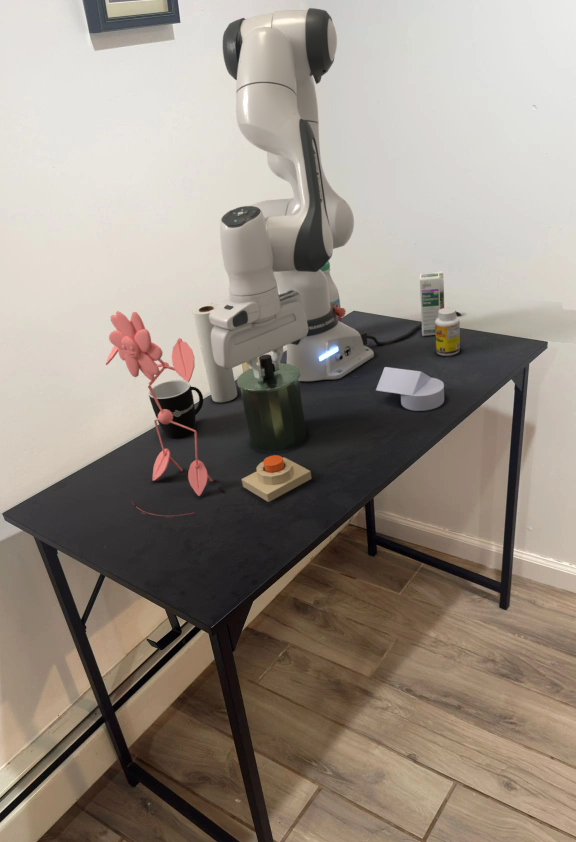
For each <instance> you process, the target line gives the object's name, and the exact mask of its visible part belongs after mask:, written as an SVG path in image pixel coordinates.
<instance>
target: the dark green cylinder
mask: <svg viewBox="0 0 576 842" xmlns="http://www.w3.org/2000/svg"><path fill="white" fill-rule="evenodd" d="M239 389H240V393H241V398H242V404H243V410H244V414H245V419H246V424H247V430H248V435H249V441H250V443H251V445H252V447H254V448H255V449H257V450H260V451H266V452H278V451H279V452H280V451H284V450H288V449H290V448H293V447H296V446H297V445H299V444H300V443H302V442H304V439H305V438H306V437H307V427H306V420H305V413H304V407H303V399H302V392H301V385H300V381H299V379H298V380H297V381H296V382H295V383H293V384H292V385H290V386H288V387H285V388H282V389H279V390H275V391H270V392H248V391H245V390H242V389H241V388H239Z"/></svg>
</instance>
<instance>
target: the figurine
mask: <svg viewBox="0 0 576 842" xmlns="http://www.w3.org/2000/svg"><path fill="white" fill-rule="evenodd" d="M130 315H131V316H130V320H129V318H128V317H127V315H125V314H124V313H122V312H121V311H120V310H116V312H115V314H112V315H111V316H110V322H111V323H112V325H113V327H114V328H115V329H116V330H112V331H111V332H110V333H109V335H108V340H109V342H110V343H111V344H112V345H113V347H112V349H111V351H110V353H109V355H108V357H107V359H106V362H105V365H106V366H108V365H109V363H111V362H112V361H113V359H114V358H115V357H116V355H117V354H118V356H119V358H120V359H121V360H122V361H123V362H125V364H126V368H127V370H128V372H129V373H130V375H131V376H132V377H134V378H137V377H139V375H140V372H141V373H142V374H143V375H144V376H145V377H146V378H147V379H148V380H150V381H149V382H148V386H147V389H148V390H149V391H150V392H151V394H152V396H153V398H154V399H155V401H156V403H157V405H158V407H159V409H160V412H159V414H158V419H157V418H155V419H154V421H153V422H154V425H155V429H156V433H157V436H158V439H159V443H160V446H161V451H160V452H159V454H158V455H157V457H156V459H155V460H154V461H155V462H154V464H153V469H152V482H156V481H157V480H159V479H160V478H161V477H163V475H164V473H165V472H166V471H167V470H168V469H167V468H168V466H169V464H170V462H171V463H172V464H173V465H174V466H175V467H176V468H177V470H178V471H180V472H183V470H184V469H183V468H182V467H181V466H180V465H179V464H178V463H177V462H176V460H174V458H173V457H171V450H170V449H169V448H165V447H164V444H163V440H162V437H161V433H160V429H159V426H158V420H159V421H160V422H161V423H162V424H169V423H173V424H175V425H178V426H181V427H183V428H186V429H188V430H191V431H193V432H194V450H195V451H194V452H195V453H194V454H195V460H194V461H192V462H190V465H189V469H188V474H187V480H188V482H189V485H190V488H191V489H193V492H194V493H195V494H196V495H197V496H198V497H200V496H201V495H202V493H203V492H204V491H205V488H206V487H207V484H208V481H209V482H211V483H212V482H214V480H213V478H212V477H211V476H210V475H209V474H208V470H207V467H206V465H205V464H204V461H201V460H200V459H199V458H198V455H199V454H198V432H197V430H196V429H195V428H194V429H191V428H189V427H186V426H183V425H181V424H178V423H176V422H173V421H172V420H173V414H172V413H171V411H169V410H167V409H164V410H162V408H161V406H160V404H159V402H158V400H157V398H156V396H155V394H154V392H153V389H152V388H153V387H152V385H153V384H154V383H155V382H156V380H157V379H158V378H159V377H160V376H161V374H162V373H163V372H164V371H165V370H166V369H168V370H171V371H175V372H176V374H177V375H178V376H179V377H181V378H182V380H183V381H187V382H188V383H190V381H191V379H192V376H193V373H194V370H195V366H196V365H195V364H196V363H195V354H194V351H193V349H192V348H191V347H190V345H189V344H188V343H187V342H186V341H183V339H182V338H181V337H179V338H177V340H176V343H175V344H174V346H172V352H171V362H172V363H171V364H172V366H171V365H170V364H169V363H168V362H167V361H166V362H165V361H164V360H163V359H162V356H163V353H164V351H163V350H162V348H161V347H160V346H159V345H158V344H156V343H154V342H153V341H152V337H151V334H150V331H149V330H148V329H147V328H146V327H145V323H144V321H143V320H142V317H141V316H140V314H138V312H136V311H133V312H131V314H130ZM157 361H158V362H159V363H156V362H157ZM160 368H161V369H160ZM131 503H132V504H134V502H133V501H131ZM137 509H138V510H140V511H141V512H142V514H144V515H145V514H149V515H152V516H159V517H164V519H166V518H167V519H169V518H170V517H178V516H181V514H175V515H172V514H171V515H167V516H166V515H163V514H156V513H150V512H147V511H144V510H142V509H140V508H139V507H137ZM195 513H196V512H194V511H193V512H190V513H184V514H182V516H188V515H192V514H195Z"/></svg>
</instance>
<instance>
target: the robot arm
mask: <svg viewBox="0 0 576 842" xmlns="http://www.w3.org/2000/svg"><path fill="white" fill-rule="evenodd" d="M337 46H338V35H337V29H336V27H335V25H334V22H333V18H332V15H330V13H328V11H327V10H324V9H321V8H315V7H314V8H312V7H309V8H308V9H284V10H276V11H274V12H269V13H265V14H260V15H256V16H252V17H249V18H245V17H242V18H239V19H236V20H234V21H232V22H229V24H228V25H227V27H226V29H225V30H224V32H223V34H222V49H221V50H222V57H223V62H224V65H225V69H226V71H227V72H228V74H229V76H231V77H232V78H233V79H234V80H235V81H236V84H235V86H236V87H235V114H236V121H237V123H236V124H237V127H238V128H239V130H240V133H241V134H242V136H243V137H244V138H245V140H247V141H248V142H249V143H250V144H251V145H253V146H254V147H256V148H258V149H259V150H262V151H264V152H266V162H267V165H268V168H269V170H270V171H271V172H272V173H273V174H274V175H275V176H276V177H278V178H279V179H281V180H283V181H285V182H287V183H289V184H290V187H291V189H292V192H293V197H292V198H279V199H265V200H263V201H259V202H256V203H252V204H249V205H244V206H237V207H235V208H234V209H231V210H229V211H227V212H226V213H225V214H223V215H222V217H221V219H220V222H219V226H220V227H219V235H220V237H219V238H220V248H221V249H220V250H221V255H222V261H223V267H224V270H225V273H226V274H227V276H228V293H229V296H228V297H226V299H225V300H224V301H222V302H221V303H220V304H218V307H217V308H216V309H214V310H213V311H212V312H211V313H210V314H209V320H210V322H211V323H212V324H213V325H215V326H214V327H213V329H212V331H211V344H212V351H213V357H214V361H215V363H216V364H217V365H219V366H220V367H222V368H225V369H231V368H232V369H233V368H235V367H238V366H240V365H242V364H245V363H246V364H247V365H248V366H249V368H250V369H251V368H252V369H253V372H254V376H255V378H257V379H260V378H262V377H264V376H265V373H264V372H265V370H264V368H261V367H259V366H260V365H258V364H257V363H259V357H260V356H262V355H266V354H269V353H271V352H273V353H272V356H271V357H272V363H273V369H274V372H276V371H278V370H280V369H281V366H280V363H281V361H282V358H283V354H284V347H286V363H285V364H291V365H294V366H296V367H297V368H298V369H299V370H300V377H299V382H316V381H323V380H339V379H342V378H343V377H345V376H346V375H348V374H349V373H351V372H352V371H354V370H355V369H357V368H359V367H360V366H362V365H363V364H364V363H366V362H368V361H369V360H371V359H373V358H374V357H375V353H374V350H373V349H372V348H370V347H368V346H366V345H368V339H370V340H372V341H373V342H374V344H376V345H377V346H385V345H390V344H394V343H396V342H399V341H401V340H403V339H405V338H408V337H409V336H411V335H412V334H413V333H415V332H416V331H417V330H419V329H420V328H422V323H420V324H417V325H416V326H415V327H413V328H412V329H411V330H410V331H408V332H407V333H405V334H403V335H401V336H399V337H396V338H394V339H391V340H389V341H378V339H377V338H376V337H375V336H374V335H369V334H368V333H367V332H365V331H363V330H360V329H358V328H356V329H355V328H353V327H351V326H349V325H347V324H345V323H344V322H342V323H341V322H340V321H338V319H337V317H336V316H340V317H342V318H343V317H345V315H346V312H347V311H346V309H345V307H341V306H340V307H341V308H340V307H337V308H336V309H334V307H331V306H330V299H329V290H328V281H327V278H326V276H325V274H324V273H323V272H322V271H321V270H320V269H321V268H322V267H323V266H324V265H325V264H326V263H327V262H328V261H329V262H330V260H331V259H332V256H333V251H334V250H335V249H337V248H341V247H344V246H346V244H348V242H349V241H350V239H351V237H352V235H353V232H354V227H355V217H354V213H353V211H352V208H351V206H350V204H349V203H348V202H347V201H346V200H345V199H344V198H343V197H341V196H340V195H339V194H338V193H337V192H336V191H335V190H334V188H333V187H332V186H331V184H330V183H329V181H328V179H327V177H326V174H325V171H324V169H323V165H322V158H321V156H322V155H321V147H320V146H321V145H320V128H319V127H320V125H319V124H320V123H319V108H318V99H317V91H316V86H315V84H316V85H318V84H319V83H320V82H321V80H322V76H325V75H326V74H327V73H328V72H329V70H330V69H331V67H332V66H333V64H334V62H335V57H336V52H337V48H338V47H337ZM456 316H457V317H461V316H462V314H461V313H460V312H458V311H456Z"/></svg>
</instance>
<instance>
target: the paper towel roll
mask: <svg viewBox="0 0 576 842" xmlns="http://www.w3.org/2000/svg"><path fill="white" fill-rule="evenodd" d="M218 306H219V304H217V303H215V302H212V301H210V304H205V305H201V306H198V307H196V308H194V309H193V311H192V314H193V318H194V324H195V328H196V333H197V338H198V341H199V347H200V352H201V356H202V360H203V364H204V369H205V374H206V376H207V377H206V378H207V382H208V387H209V391H210V396H211V400H212V401H213V402H215V403H226V402H230V401H232V400H234V399H235V398H237V397H238V391H237V386H236V385H237V384H236V381H235V376H234V375H235V374H234V370H233V368H231V369H225V368H222V367H220V366H219V365H217V364H216V363H215V361H214V357H213V351H212V344H211V331H212V329H213V327H214V326H215V325H213V324H212V323H211V322H210V320H209V314H210V313H211V312H212V311H213V310H214V309H216V308H217V307H218Z"/></svg>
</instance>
